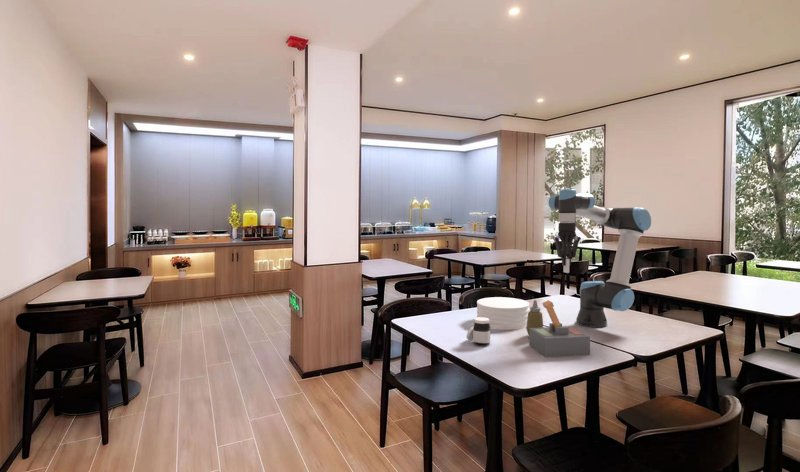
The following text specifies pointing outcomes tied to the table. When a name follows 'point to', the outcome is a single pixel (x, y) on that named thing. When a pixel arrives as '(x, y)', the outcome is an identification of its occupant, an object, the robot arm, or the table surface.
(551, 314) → the breaker lever
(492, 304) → the plate stack
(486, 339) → the spread jar
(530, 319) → the squeeze bottle
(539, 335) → the switch block
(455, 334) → the table surface
